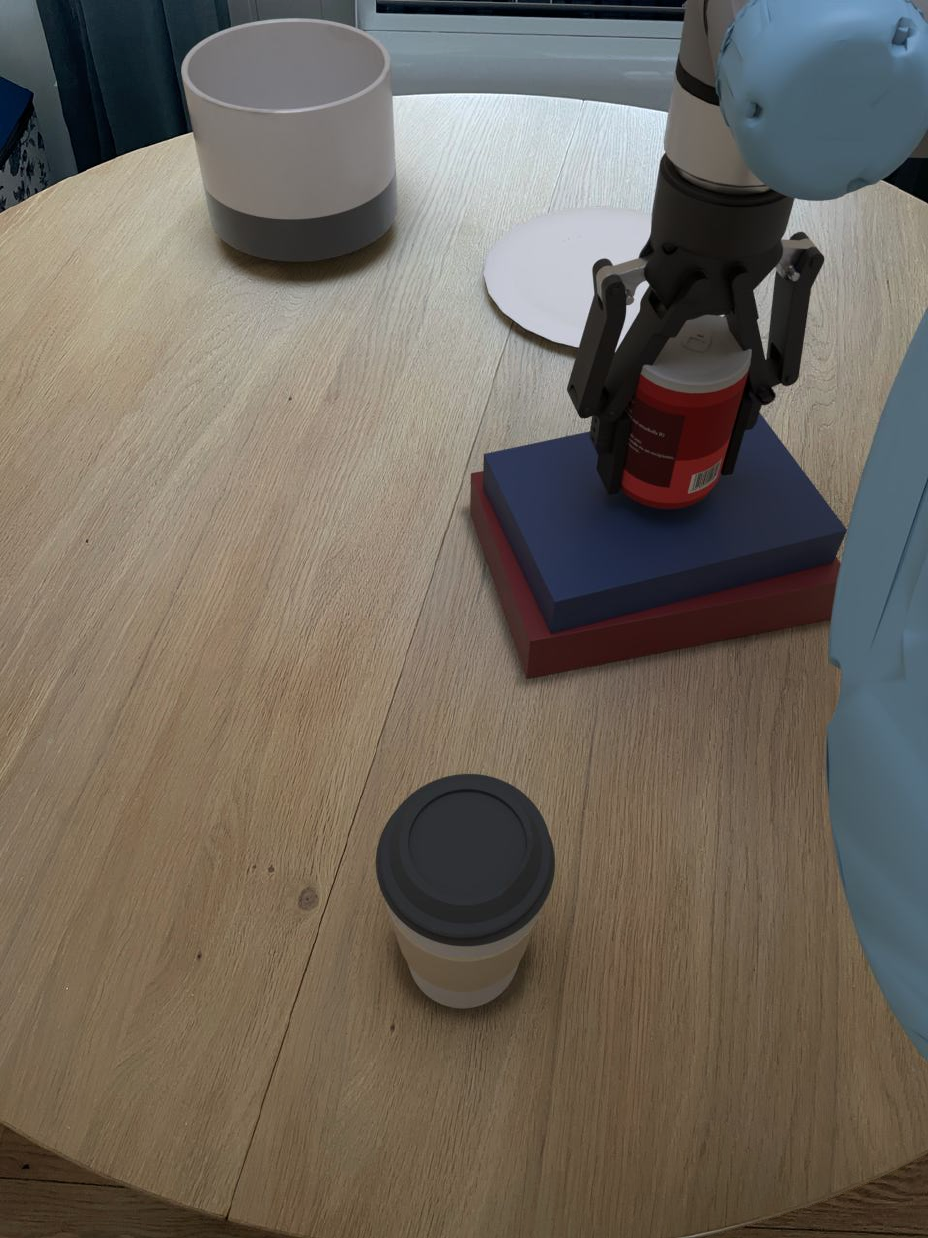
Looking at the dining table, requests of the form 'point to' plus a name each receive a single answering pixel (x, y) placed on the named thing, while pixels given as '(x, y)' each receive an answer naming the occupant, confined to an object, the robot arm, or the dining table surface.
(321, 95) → the planter
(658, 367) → the canned food
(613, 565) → the book stack
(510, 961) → the coffee cup
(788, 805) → the dining table surface
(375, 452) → the dining table surface
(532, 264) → the plate
